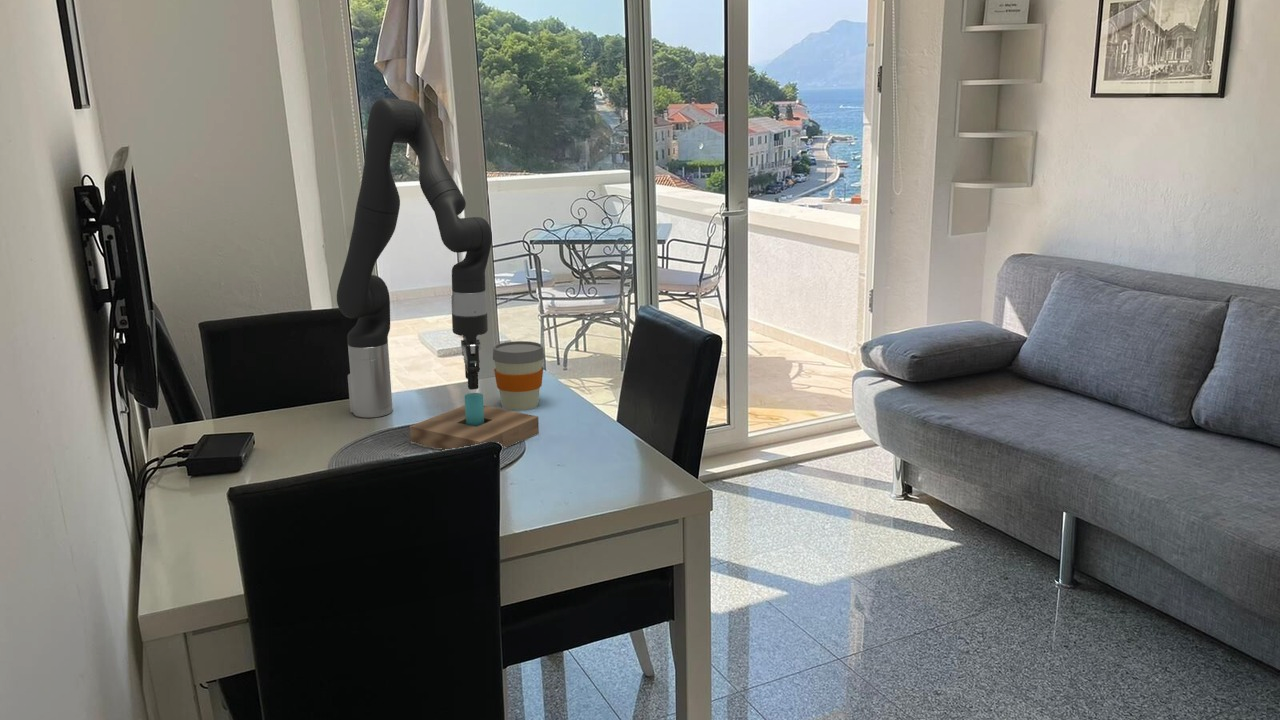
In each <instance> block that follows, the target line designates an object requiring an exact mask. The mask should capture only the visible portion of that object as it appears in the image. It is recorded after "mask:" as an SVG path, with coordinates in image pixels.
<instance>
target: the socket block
mask: <svg viewBox="0 0 1280 720" xmlns="http://www.w3.org/2000/svg"><path fill="white" fill-rule="evenodd" d="M483 406H484V424H482V425H480V426H477V427H475V426H470V425H466V414H465V404H464V405H462V406H459V407H456V408H453V409H451V410H449V411H446V412H443V413H441V414H439V415H435V416H433V417H430V418H428V419H425V420H422V421H420V422H417V423H415V424H412V425H409V440H410V441H412V442H416V443H419V444H422V445H425V446H427V447H434V448H442V449H437V451H440V450H445V449H452V448H459V447H464V446H471V445H475V444H480V443H484V442H490V441H494V442H499V443H501V444H502V446H503V450H505V449H504V446H505V447H508V446H510V445H512V444H514V443H516V442H518V441H521V442H523V441H526V440H527V439H530V438H532V437H534V436H535V435H536V436H537V435H538V434H539V433H540V428H539V427H540V426H539V423H540V422H539V416H538V415H534V414H533V415H532V414H528V413H522V412H519V411H518V412H517V411H514V410H507V409H504V408H503V409H502V408H497V407H492V406H488V405H487V406H486V405H483ZM522 440H523V441H522ZM427 447H426V448H427ZM510 447H511V446H510ZM508 448H509V447H508ZM503 450H502V451H503Z"/></svg>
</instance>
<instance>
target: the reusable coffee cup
mask: <svg viewBox="0 0 1280 720" xmlns="http://www.w3.org/2000/svg"><path fill="white" fill-rule="evenodd" d="M544 358H545V353H544V346H543V345H542V344H541V343H539V342H535V341H526V340H525V341H523V340H519V341H518V340H517V341H516V340H515V341H506V342H505V341H504V342H501V343H497V344H496V345H494V346H493V350H492V360H493V361H494V367H495V368H494V369H493V371H494V377H495V382H496V388H497V389H498V390H499V396H500V403H501V408H503V409H504V410H508V411H514V412H517V411H518V412H519V411H529V410H533V409H535V408H537V407H538V406H539V400H540V399H539V398H540V388H541V387H542V384H543V375H544V366H543V359H544Z"/></svg>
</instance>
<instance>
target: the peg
mask: <svg viewBox="0 0 1280 720" xmlns="http://www.w3.org/2000/svg"><path fill="white" fill-rule="evenodd" d="M464 405H465V414H466V425H470V426H475V427H477V426H480V425H482V424H484V406H485V405H484V394H483V393H480V392H469V393H467V394H464Z"/></svg>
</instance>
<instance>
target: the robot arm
mask: <svg viewBox="0 0 1280 720" xmlns="http://www.w3.org/2000/svg"><path fill="white" fill-rule="evenodd" d="M367 119H368V120H367V129H366V142H365V155H364V163H363V170H362V177H361V181H360V182H361V183H360V189H359V193H358V197H357V201H356V208H355V214H354V221H353V226H352V232H351V235H350V236H351V237H350V239H349V240H350V241H349V246H348V251H347V254H346V257H345V263H344V266H343V269H342V272H341V275H340V279H339V282H338V285H337V286H338V287H337V290H336V302H337V303H336V304H337V306H338V309H339V311H340V313H341V314H342V315H343V317H346V318H348V319H357V322H356V323H355V325H354V326H353V327H352V328H351V329H350V330H349V331H348V333H347V337H346V339H347V349H348V350H347V351H348V352H347V353H348V362H349V372H350V373H348V374H347V383H348V384H347V385H348V398H349V408H350V413H353V416H356V417H358V418H378V417H384V416H387V415H389V414H391V413H392V412H393V410H394V409H393V398H392V397H393V395H392V382H391V367H390V354H389V353H390V352H389V338H388V336H389V333H390V331H391V299H390V292H389V289H388V286H387V283H386V282H385V281H384V280H383V279H382V278H381V277H379V276H378V275H376V274H375V275H374V274H373V272H374V268H375V265H376V263H377V262H378V259H379V257H380V256H381V254H382V252H383V251H384V249H385V248H386V247H387V245H388V244H389V242H390V241H391V238H392V237H393V235H394V233H395V231H396V227H397V224H398V218H399V213H400V207H401V199H400V194H399V191H398V188H397V185H396V182H395V180H394V177H393V173H392V171H391V158H392V157H391V156H392V150H393V145H394V144H395V143H399V144H408V145H409V146H410V149H412V150H413V151H414V153H415V155H416V157H417V159H418V164H419V171H418V180H419V181H418V182H419V185H420V189H421V192H422V194H423V195H424V197H425V199H426V200H427V202H428V204H429V206H430V207H431V209H432V210H433V212H434V214H435V215H434V216H435V220H436V223H437V226H438V231H439V234H440V235H439V236H440V238H441V239H440V240H441V241H442V244H443V245H444V246H445V248H447V249H448V250H450V252H453V253H457V254H459V253H460V254H461V253H465V256H464V258H463V260H461V261H460V262H457V263H456V264H454V265H453V266H452V269H451V290H452V291H451V292H452V293H451V323H452V326H451V327H452V333H453V334H454V335H457V336H462V339H461V340H460V348H461V355H462V357H463V363H464V370H465V371H464V373H465V376H464V377H465V379H466V380H467V389H469V390H478V389H479V387H480V386H479V372H480V369H481V367H480V362H481V342H480V339H478V338H477V337H478V336H479V335H480V336H482V335H484V334H486V333H487V332H488V329H489V327H488V326H489V325H488V323H489V322H488V298H487V294H486V293H487V292H486V291H487V290H486V268H487V265H488V260H489V256H490V251H491V247H492V243H493V232H492V228H491V226H490V224H489V223H488V221H487V220H486V219H485V218H483V217H481V216H473V217H462V218H460V216H459V215H461V213H463V211H464V210H465V209H466V206H467V205H466V204H467V203H466V199H465V197H464V195H463V194H462V192H461V190H460V189H459V187H458V185H457V184H456V182H455V180H454V178H453V177H452V175H451V173H450V171H449V170H448V168H447V166H446V164H445V162H444V159H443V157H442V153H441V151H440V149H439V146H438V144H437V141H436V139H435V136H434V133H433V132H432V129H431V126H430V123H429V121H428V119H427V116H426V114H425V112H424V111H423V108H422V107H421V106H420V105H419V104H418V103H416V102H414V101H412V100H406V99H398V98H388V97H381V98H378V99H376V100H375V101H374V102H373V104H372V106H371V108H370V111H369V115H368V118H367Z"/></svg>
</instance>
